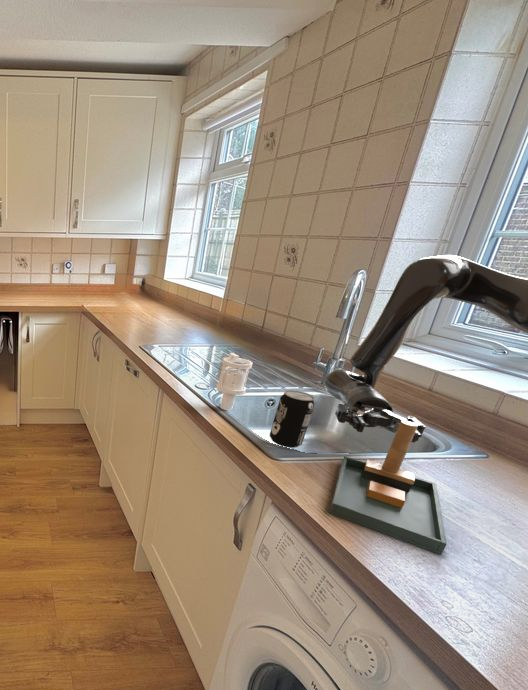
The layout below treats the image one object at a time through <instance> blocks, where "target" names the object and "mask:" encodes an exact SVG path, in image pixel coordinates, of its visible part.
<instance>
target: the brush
mask: <svg viewBox="0 0 528 690" xmlns="http://www.w3.org/2000/svg"><path fill="white" fill-rule="evenodd" d="M417 427H418V425H417V424H416V423H413V422H410V421H401V422H400V425H399V427H398V430H397V432H396V433H395V435H394V437H393V439H392V442H391V444H390V446H389V449H388V451H387V454H386V456H385V459H384V461H383V463H380V462H377V461H373V460H370V459H366V460H365V462H366V463H365V467H364V470H363V474H362V478H365V479H368V480H371V481H375V482H378V483H381V484H384V485H387V486H390V487H394V488H397V489H400V490H403V491H406V492H409V490H410V488H411V486H412V485H413V484H414V482H415V477H416V475H415V473H414V472H411V471H408V470H405V469H401V467H402V464H403V462H404V459H405V457H406V455H407V452H408V450H409V448H410V446H411V443H412V442H411V441H412V439H413V436H414V434H415V432H416V430H417Z"/></svg>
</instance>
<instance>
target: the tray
mask: <svg viewBox="0 0 528 690" xmlns="http://www.w3.org/2000/svg"><path fill="white" fill-rule="evenodd" d="M365 463H366V461H362V460H359V459H356V458H352V457H349V456H345V455H344V456H343V457H342V460H341V463H340V466H339V470H338V474H337V478H336V483H335V486H334V490H333V495H332V499H331V503H330V507H329V511H328V513H329V514H331V515H333V516H336V517H339V518H341V519H344V520H347V521H349V522H352V523H355V524H358V525H361V526H363V527H366V528H368V529H371V530H373V531H375V532H376V531H377V532H379V533H382V534H384V535H386V536H389V537H392V538H395V539H398V540H400V541H403V542H405V543H409V544H411V545H414V546H416V547H418V548H422V549H424V550H427V551H430V552H432V553H435V554H437V555H440V556H441V555H442V554H443V553H444V550H445V548H446V547H447V545H448V544H447V538H446V533H445V527H444V521H443V516H442V509H441V503H440V497H439V492H438V486H437V483H435V482H432V481H429V480H425V479H422V478H419V477H416V476H415V482H414V484H413V485H412V486H411V488H410V490H409V492H406V491H404V492H405V503H404V505H403V507H402V508H400V507H397V506H394V505H391V504H388V503H385V502H382V501H379V500H376V499H373V498H371V497H368V496H366V495H367V487H368V484H369V482H370V481H371V480H368V479H365V478H362V474H363V470H364V467H365ZM373 482H375V481H373ZM376 483H378V482H376ZM379 484H381V483H379ZM382 485H384V484H382ZM386 486H387V485H386ZM389 487H390V486H389ZM392 488H394V487H392ZM395 489H397V488H395ZM398 490H400V489H398ZM401 491H403V490H401Z"/></svg>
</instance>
